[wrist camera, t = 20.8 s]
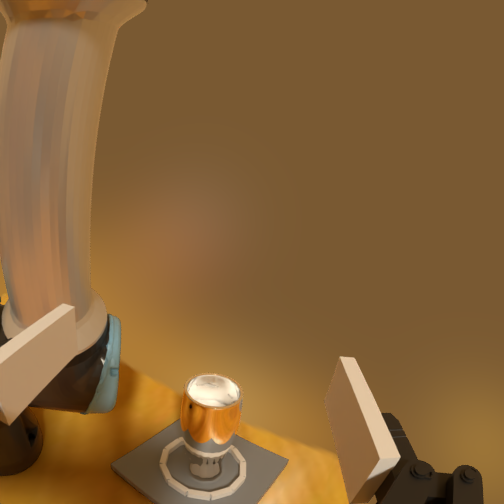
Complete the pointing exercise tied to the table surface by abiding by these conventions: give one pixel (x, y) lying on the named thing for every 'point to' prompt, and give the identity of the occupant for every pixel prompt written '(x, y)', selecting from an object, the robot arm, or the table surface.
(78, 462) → the table surface
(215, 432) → the beer glass
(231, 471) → the coaster board
